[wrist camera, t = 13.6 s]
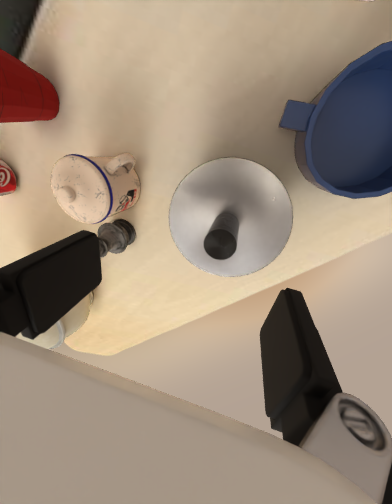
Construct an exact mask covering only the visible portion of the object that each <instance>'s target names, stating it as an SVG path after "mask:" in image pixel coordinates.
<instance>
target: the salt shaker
mask: <svg viewBox="0 0 392 504" xmlns="http://www.w3.org/2000/svg"><path fill="white" fill-rule="evenodd" d="M98 238H99V246H100V257H104V256H106V255H107V252H108V251H109V252H111V253H116V254H117V253H121V252H123V251H124V250H125V249H126V247H127V245H129V244H131V243H132V242H134V240H135V230H134V228H133V226H132V225H131V224H130V223H129V222H127V221H125V220H123V219H118V220H115V221H114V222H113V223H105V224H103V225H101V226H100V227H99V229H98Z"/></svg>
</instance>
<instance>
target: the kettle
mask: <svg viewBox="0 0 392 504" xmlns="http://www.w3.org/2000/svg"><path fill="white" fill-rule="evenodd" d="M92 301H93V293H92V291H91V292H90V293H89V294H88V295H87V296H86V297H85V298H83V299H82V300H81V301H80V302H79V303H78V304H77V305H76V306H74V307H73V308H72V309H71V310H70V311H69V312H68V313H66V314H65V315H64V316H63V317H62V318H61V319H60V320H59V321H57V322H56V323H55V324H54V325H53V326H52V327H51V328H50V329H48V330H47V331H46V332H45V333H43V334H40V335H38V336H37V337H36V338H35V339H34V340H31V339H29V338H26V337H23V336H22V334H21V333H19V334H18V335H17V336H16V338H19V339H21V340H24V341H27V342H30V343H32V344H35V345H38V346H41V347H43V348H46V349H52V348H56V347H58V346H60V345H61V344H62V343H63V341H64V339H65V338H66V337H68V336H70V335H71V334H73V333H74V332H76V331H77V330H78V329H79V328H80V327H81V326H82V325H83V324H84V323H85V321H86V320H87V317H88V315H89V311H90V305H91V304H92Z"/></svg>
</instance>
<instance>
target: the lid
mask: <svg viewBox="0 0 392 504" xmlns="http://www.w3.org/2000/svg"><path fill="white" fill-rule="evenodd" d="M292 223H293V210H292V205H291V200H290V198H289V195H288V192H287V190H286V189H285V187H284V185H283V184H282V182H281V181H280V180H279V179H278V177H277V176H276V175H274V174H273V173H272V172H271V171H270V170H268V169H267V168H265V167H264V166H262V165H260V164H258V163H256V162H254V161H251V160H247V159H243V158H236V157H226V158H219V159H215V160H211V161H208V162H206V163H204V164H202V165H200V166H198V167H197V168H195V169H194V170H192V171H191V172H190V173H189V174H188V175H186V177H185V178H184V179H183V180H182V181H181V182H180V184H179V185H178V187H177V188H176V191H175V193H174V195H173V197H172V200H171V204H170V209H169V226H170V231H171V234H172V237H173V240H174V242H175V244H176V246H177V248H178V249H179V251H180V252H181V253H182V255H183V256H184V257H185V258H186V259H187V260H188V261H189V262H191V263H192V264H193V265H194V266H196V267H198V268H199V269H201V270H203V271H205V272H208V273H210V274H214V275H218V276H225V277H236V276H243V275H248V274H251V273H254V272H256V271H258V270H260V269H262V268H264V267H265V266H267V265H268V264H270V263H271V262H272V261H273V260H274V259H275V258H276V257H277V256H278V255H279V254H280V253H281V251H282V250H283V249H284V247H285V245H286V243H287V241H288V239H289V236H290V233H291V229H292Z"/></svg>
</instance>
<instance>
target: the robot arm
mask: <svg viewBox="0 0 392 504" xmlns="http://www.w3.org/2000/svg"><path fill="white" fill-rule="evenodd" d="M101 280H102V274H101V260H100V246H99V238H98V237H97V235H96V234H95V233H92V232H89V231H85V230H82V231H80V232H78V233H75V234H73V235H71V236H69V237H67V238H65V239H62V240H60V241H58V242H56V243H54V244H52V245H50V246H47V247H45V248H43V249H41V250H39V251H37V252H34V253H32V254H30V255H28V256H26V257H24V258H21V259H19V260H17V261H15V262H13V263H11V264H9V265H6V266H4V267H2V268H0V504H392V438H391V435H390V433H389V431H388V429H387V428H386V426H385V424H384V423H383V422H382V420H381V419H380V418H379V416H378V415H377V414H376V413H375V412H374V411H373V410H372V409H371V408H370V407H369V406H368V405H366V404H365V403H364V402H363V401H361V400H360V399H359V398H357V397H355V396H353V395H351V394H347V393H343V392H342V389H341V387H340V384H339V382H338V379H337V377H336V375H335V372H334V370H333V367H332V365H331V362H330V360H329V357H328V355H327V352H326V350H325V347H324V345H323V343H322V340H321V338H320V335H319V333H318V330H317V329H316V327H315V325H314V323H313V320H312V317H311V315H310V312H309V310H308V307H307V305H306V302H305V300H304V297H303V295H302V293H301V292H300V291H297V290H293V289H290V288H286V289H285V290H281V291H280V293H279V295H278V297H277V299H276V301H275V303H274V305H273V306H272V308H271V310H270V312H269V314H268V316H267V318H266V320H265V322H264V324H263V326H262V328H261V331H260V344H261V358H262V369H263V370H262V371H263V384H264V398H265V411H266V415H267V416H268V417H270V421H271V428H272V429H274V430H277V431H280V432H282V433H283V440H282V439H280V438H278V437H276V436H274V435H271V434H269V433H267V432H264V431H262V430H259V429H256V428H254V427H252V426H249V425H247V424H244V423H242V422H239V421H237V420H234V419H231V418H229V417H227V416H224V415H222V414H219V413H216V412H214V411H211V410H209V409H206V408H203V407H201V406H198V405H195V404H193V403H190V402H188V401H185V400H182V399H180V398H177V397H174V396H172V395H169V394H167V393H164V392H161V391H158V390H156V389H153V388H151V387H148V386H145V385H143V384H140V383H137V382H135V381H132V380H129V379H127V378H124V377H121V376H119V375H116V374H113V373H111V372H108V371H105V370H103V369H100V368H97V367H94V366H92V365H89V364H87V363H84V362H81V361H78V360H75V359H73V358H70V357H67V356H65V355H62V354H60V353H57V352H54V351H51V350H49V349H46V348H43V347H41V346H38V345H35V344H32V343H30V342H27V341H24V340H21V339H19V338H16V336H17V335H18V334H19V333H21V334H22V336H23V337H26V338H29V339H31V340H34V339H35V338H36V337H37V336H38V335H40V334H43V333H45V332H46V331H47V330H48V329H50V328H51V327H52V326H53V325H54V324H55V323H56V322H57V321H59V320H60V319H61V318H62V317H63V316H64V315H65V314H66V313H68V312H69V311H70V310H71V309H72V308H73V307H74V306H76V305H77V304H78V303H79V302H80V301H81V300H82V299H83V298H85V297H86V296H87V295H88V294H89V293H90V292H91V291H92V290H94V289H95V288H96V287H97V286H98V285H99V284H100V283H101Z"/></svg>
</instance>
